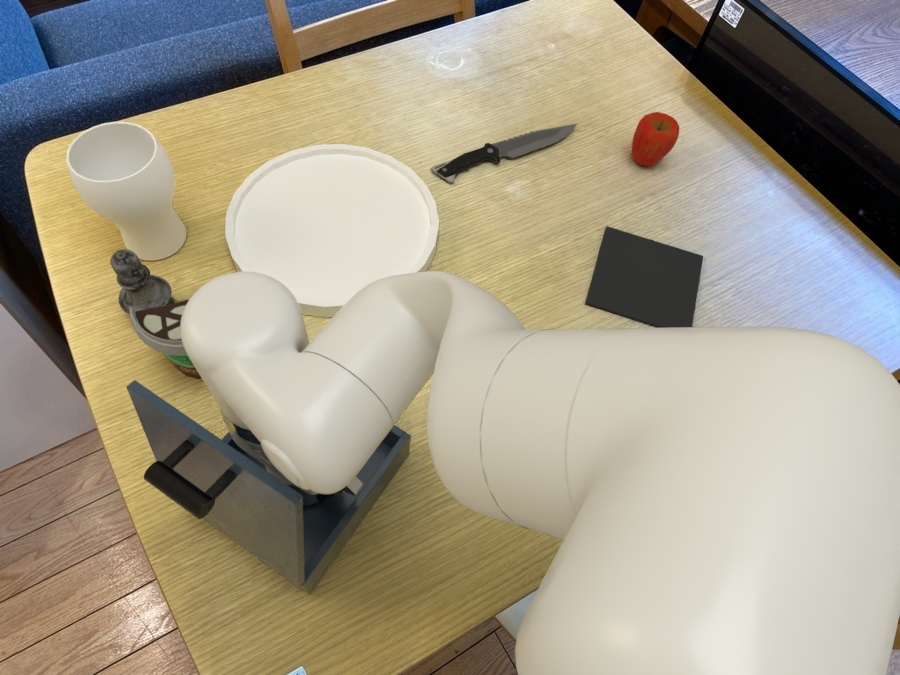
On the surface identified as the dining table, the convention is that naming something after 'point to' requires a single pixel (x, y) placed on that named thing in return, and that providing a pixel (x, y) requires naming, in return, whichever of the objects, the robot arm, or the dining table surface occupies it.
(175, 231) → the cup
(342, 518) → the dark blue-grey open box
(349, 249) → the plate
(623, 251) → the mat
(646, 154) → the apple
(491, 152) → the knife
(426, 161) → the dining table surface
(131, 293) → the chess piece
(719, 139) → the dining table surface
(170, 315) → the food container
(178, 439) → the lid
